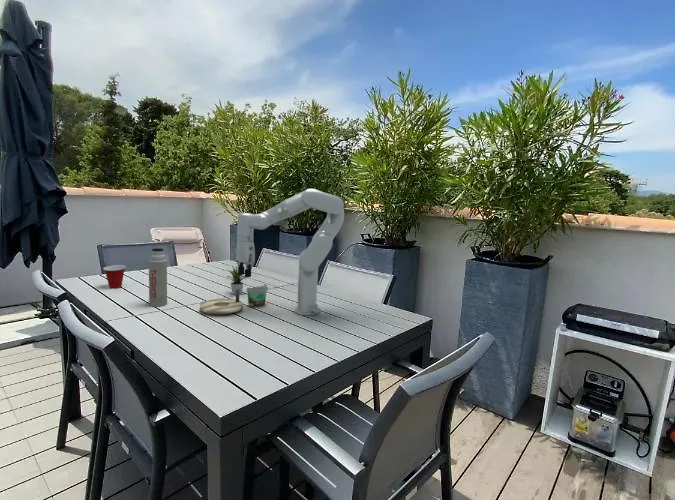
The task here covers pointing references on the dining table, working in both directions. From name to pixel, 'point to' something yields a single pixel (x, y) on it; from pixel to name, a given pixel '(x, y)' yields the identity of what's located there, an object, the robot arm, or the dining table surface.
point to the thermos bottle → (157, 278)
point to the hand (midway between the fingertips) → (244, 275)
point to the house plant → (236, 281)
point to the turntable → (222, 305)
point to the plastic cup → (115, 275)
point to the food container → (257, 296)
